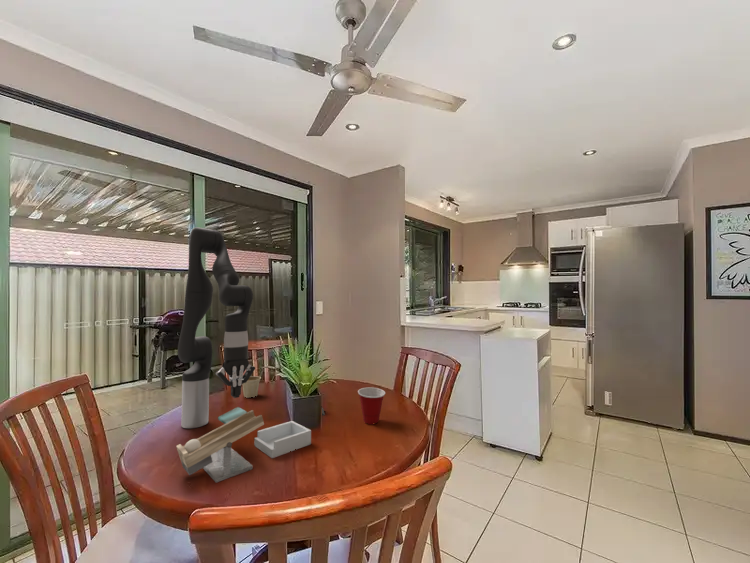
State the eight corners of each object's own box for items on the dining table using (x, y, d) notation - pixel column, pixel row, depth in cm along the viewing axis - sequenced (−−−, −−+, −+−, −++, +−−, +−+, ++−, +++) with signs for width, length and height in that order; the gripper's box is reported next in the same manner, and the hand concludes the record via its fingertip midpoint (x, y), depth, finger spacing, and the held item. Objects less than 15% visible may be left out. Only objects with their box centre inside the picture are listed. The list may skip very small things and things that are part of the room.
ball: (184, 455, 93) (181, 441, 93) (199, 447, 96) (196, 434, 95) (188, 460, 90) (185, 446, 90) (204, 452, 93) (201, 438, 93)
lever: (170, 452, 103) (165, 433, 102) (240, 415, 118) (236, 398, 117) (190, 476, 89) (184, 455, 88) (266, 431, 104) (262, 412, 103)
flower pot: (236, 398, 162) (236, 380, 162) (246, 393, 171) (247, 375, 172) (254, 399, 160) (254, 381, 161) (264, 393, 170) (264, 376, 170)
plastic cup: (370, 429, 124) (370, 396, 125) (352, 421, 132) (352, 390, 133) (391, 422, 132) (391, 391, 132) (373, 415, 140) (373, 385, 140)
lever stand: (196, 461, 101) (196, 440, 101) (230, 450, 108) (230, 431, 108) (216, 482, 89) (216, 459, 90) (252, 469, 96) (252, 447, 97)
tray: (254, 445, 111) (254, 431, 111) (292, 433, 121) (292, 420, 121) (271, 458, 103) (272, 443, 103) (311, 444, 112) (311, 430, 113)
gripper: (250, 341, 120) (250, 391, 120) (211, 345, 111) (210, 399, 110) (260, 343, 115) (259, 395, 114) (219, 348, 106) (219, 404, 105)
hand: (235, 397), depth 112 cm, fingers closed
